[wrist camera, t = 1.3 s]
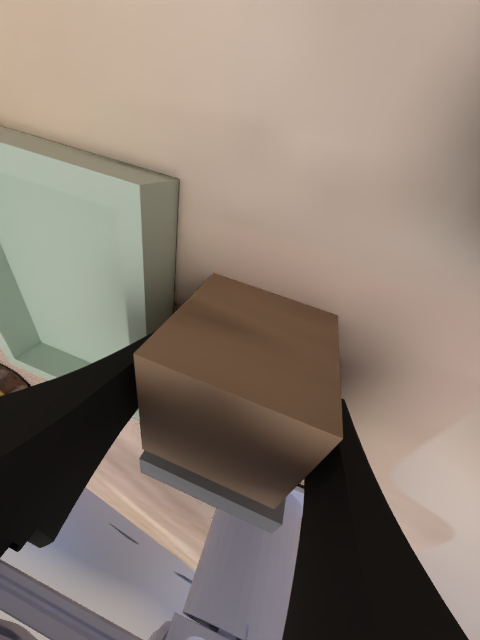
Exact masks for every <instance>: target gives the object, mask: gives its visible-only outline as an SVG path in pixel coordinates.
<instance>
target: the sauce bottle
mask: <svg viewBox="0 0 480 640" xmlns="http://www.w3.org/2000/svg"><path fill="white" fill-rule="evenodd" d="M28 387H29V386H28V385H27V384H26V383H25V382H24V381H23V380H22V379H21V378H20V377H19V376H18V375H17V374H15V373H14V372H12V371H11V370H9V369H7V368H5V367H3V366H2V365H0V396H2V395H5V394H9V393H12V392H16V391H19V390H22V389H25V388H28Z"/></svg>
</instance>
